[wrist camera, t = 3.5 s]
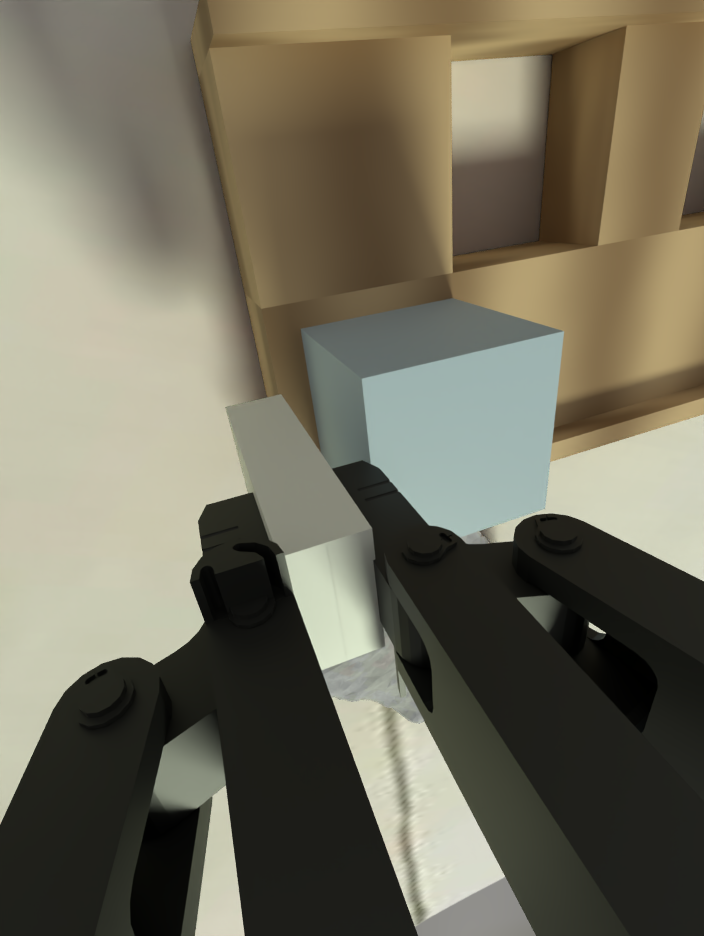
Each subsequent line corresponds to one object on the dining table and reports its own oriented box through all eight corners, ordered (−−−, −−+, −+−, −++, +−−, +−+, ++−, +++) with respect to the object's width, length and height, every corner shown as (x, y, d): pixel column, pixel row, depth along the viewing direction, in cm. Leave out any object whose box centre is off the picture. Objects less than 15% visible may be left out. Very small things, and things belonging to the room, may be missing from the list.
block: (324, 475, 17) (381, 563, 12) (300, 328, 14) (361, 379, 10) (453, 439, 18) (545, 508, 14) (452, 298, 15) (564, 331, 11)
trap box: (284, 480, 20) (311, 535, 16) (190, 40, 13) (203, -19, 9) (728, 357, 25) (814, 379, 22) (827, 8, 19) (975, -36, 15)
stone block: (360, 448, 23) (238, 628, 22) (422, 481, 19) (276, 702, 18) (490, 545, 29) (399, 684, 29) (557, 584, 25) (451, 746, 25)
